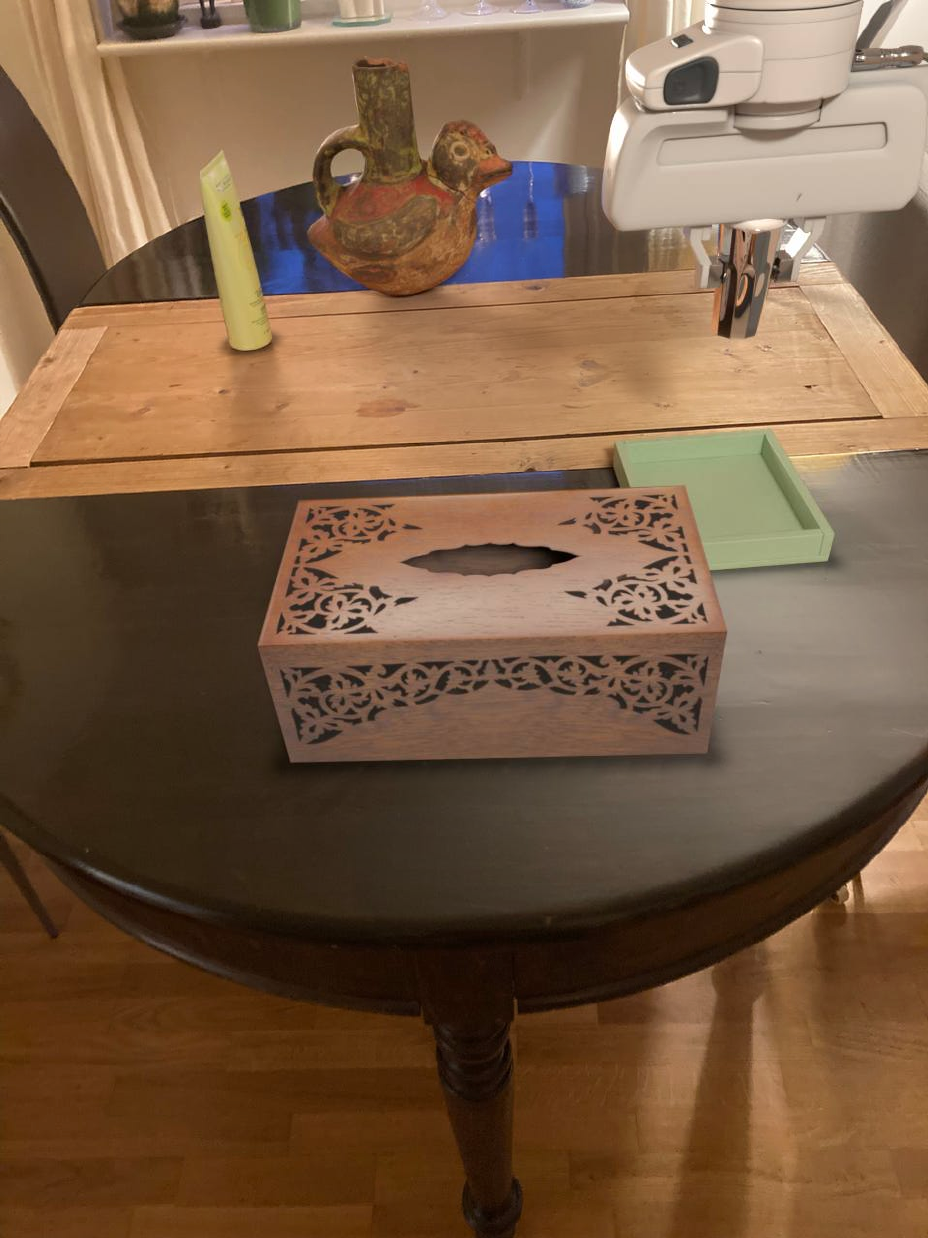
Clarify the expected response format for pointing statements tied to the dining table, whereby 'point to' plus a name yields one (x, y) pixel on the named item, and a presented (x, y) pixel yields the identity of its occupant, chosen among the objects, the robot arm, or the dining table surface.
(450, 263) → the ceramic vessel
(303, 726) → the tissue box cover
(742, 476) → the tray
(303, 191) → the dining table surface
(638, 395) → the dining table surface
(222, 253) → the tube
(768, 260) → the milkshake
